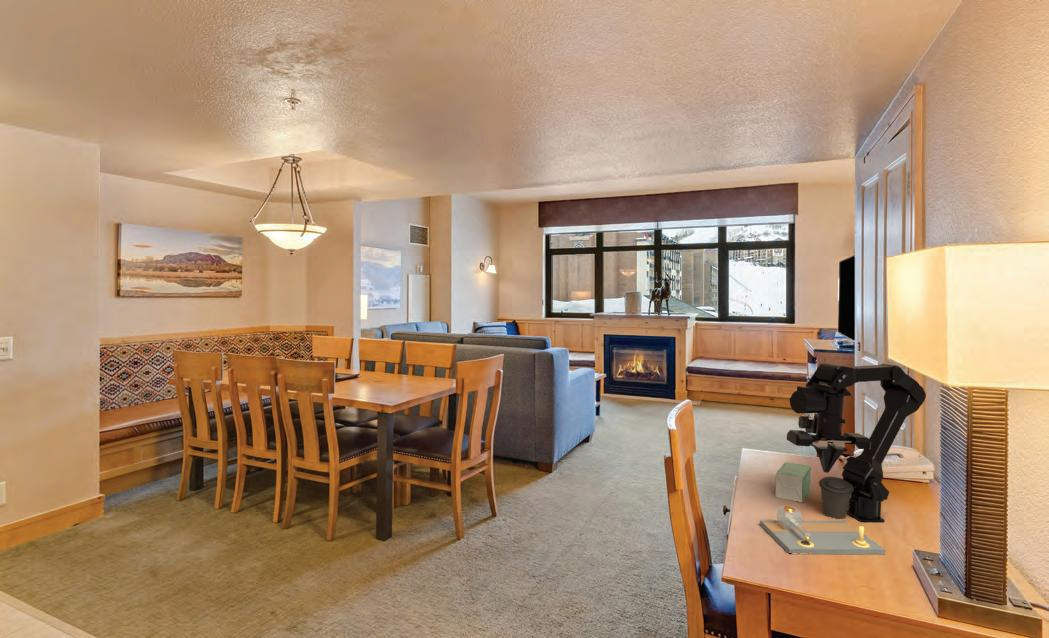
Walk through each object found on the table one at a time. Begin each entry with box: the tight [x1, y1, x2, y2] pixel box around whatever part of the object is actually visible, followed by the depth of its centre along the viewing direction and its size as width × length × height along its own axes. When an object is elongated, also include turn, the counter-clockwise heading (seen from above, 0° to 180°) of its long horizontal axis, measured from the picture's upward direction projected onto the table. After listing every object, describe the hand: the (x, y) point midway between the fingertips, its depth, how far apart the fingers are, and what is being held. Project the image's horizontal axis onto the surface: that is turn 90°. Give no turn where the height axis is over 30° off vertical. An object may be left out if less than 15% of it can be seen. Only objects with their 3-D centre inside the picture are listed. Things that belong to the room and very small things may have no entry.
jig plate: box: [759, 519, 886, 556], centre depth 128 cm, size 22×15×5 cm
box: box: [774, 461, 812, 503], centre depth 158 cm, size 7×14×8 cm, turn 143°
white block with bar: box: [776, 505, 810, 543], centre depth 128 cm, size 4×11×5 cm, turn 0°
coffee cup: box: [818, 476, 854, 520], centre depth 141 cm, size 8×8×10 cm
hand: (825, 472), depth 137 cm, fingers closed
